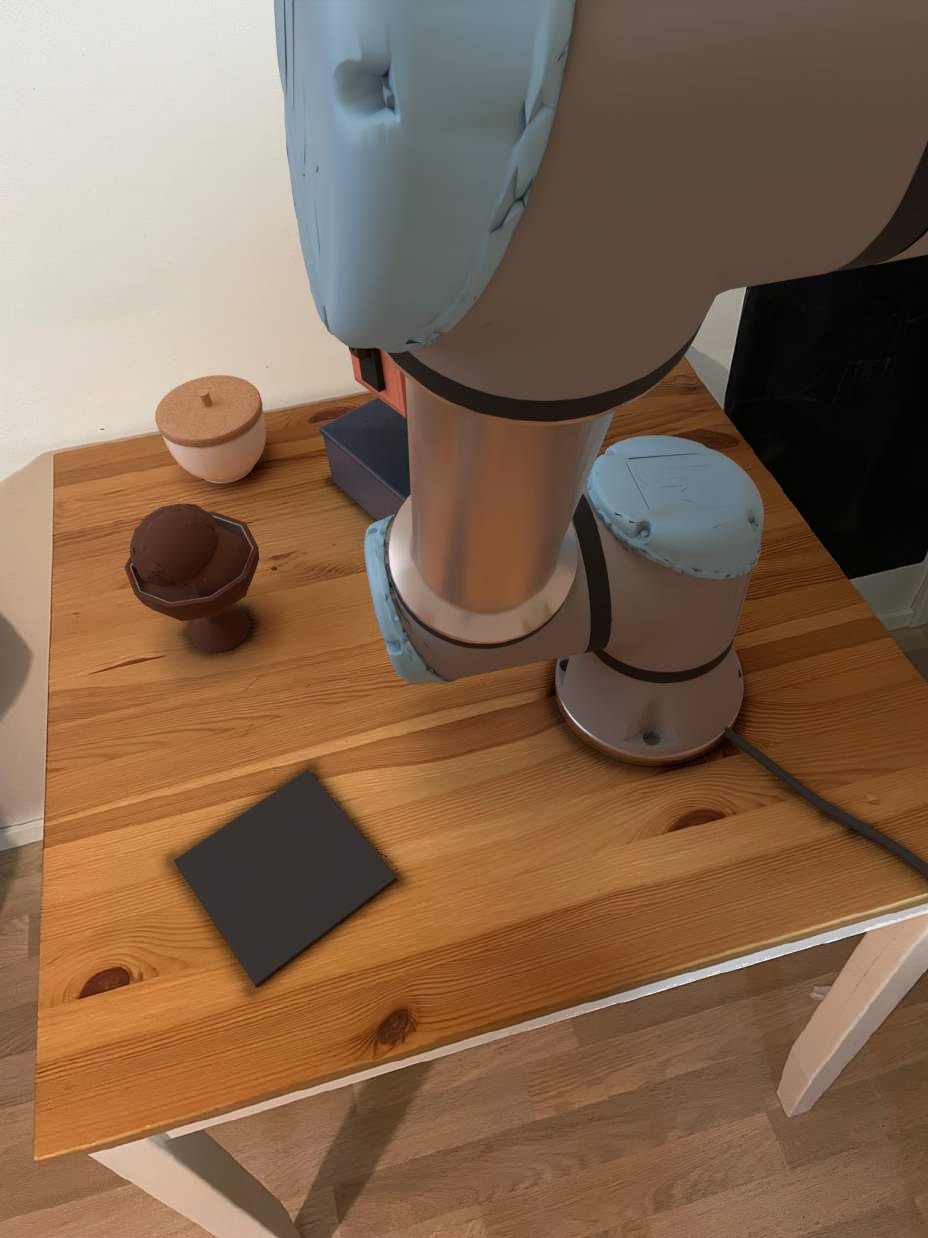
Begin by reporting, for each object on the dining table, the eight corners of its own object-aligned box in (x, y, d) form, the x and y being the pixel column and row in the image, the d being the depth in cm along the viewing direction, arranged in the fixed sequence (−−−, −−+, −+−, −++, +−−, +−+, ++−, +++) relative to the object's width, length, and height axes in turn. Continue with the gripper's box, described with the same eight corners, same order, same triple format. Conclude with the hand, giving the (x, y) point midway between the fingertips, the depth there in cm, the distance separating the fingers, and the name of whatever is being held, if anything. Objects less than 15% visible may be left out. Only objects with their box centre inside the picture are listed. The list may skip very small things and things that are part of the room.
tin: (524, 486, 94) (523, 431, 89) (412, 554, 89) (404, 500, 84) (437, 422, 102) (432, 368, 97) (329, 481, 97) (318, 427, 91)
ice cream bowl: (304, 624, 84) (269, 502, 73) (203, 698, 79) (148, 579, 68) (235, 567, 89) (192, 445, 78) (136, 634, 84) (75, 513, 73)
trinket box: (286, 434, 102) (268, 361, 95) (263, 500, 95) (241, 427, 88) (193, 432, 103) (168, 360, 96) (163, 497, 96) (134, 425, 89)
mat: (397, 879, 68) (396, 877, 67) (256, 987, 63) (254, 985, 63) (308, 771, 74) (307, 769, 74) (175, 862, 69) (173, 860, 69)
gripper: (460, 44, 73) (474, 305, 90) (231, 123, 65) (294, 393, 82) (523, 67, 69) (525, 336, 86) (287, 155, 61) (341, 432, 78)
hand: (412, 364), depth 84 cm, fingers closed on tub, 8 cm apart
